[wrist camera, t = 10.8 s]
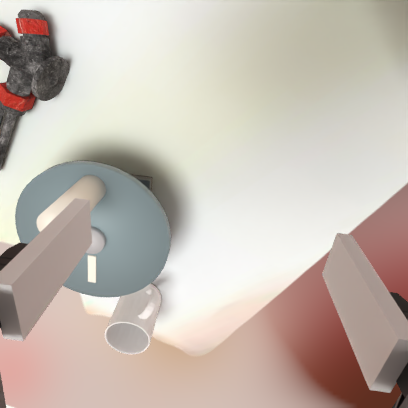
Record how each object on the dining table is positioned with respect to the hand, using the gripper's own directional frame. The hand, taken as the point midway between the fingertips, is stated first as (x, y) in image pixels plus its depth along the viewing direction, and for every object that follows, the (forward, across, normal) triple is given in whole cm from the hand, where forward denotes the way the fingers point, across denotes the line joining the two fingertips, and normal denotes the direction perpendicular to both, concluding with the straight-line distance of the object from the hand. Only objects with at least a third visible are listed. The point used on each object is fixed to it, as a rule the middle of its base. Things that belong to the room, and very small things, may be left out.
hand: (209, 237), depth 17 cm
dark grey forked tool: (+33, -33, 0) cm, 47 cm away
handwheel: (+24, -16, -17) cm, 33 cm away
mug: (+33, -10, -35) cm, 49 cm away
